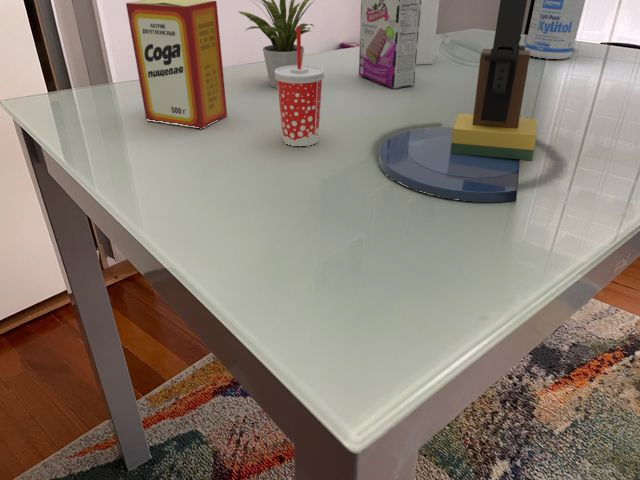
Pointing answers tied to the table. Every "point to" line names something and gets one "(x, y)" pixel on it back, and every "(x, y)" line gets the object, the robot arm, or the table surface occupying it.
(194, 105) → the baking soda box
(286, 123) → the beverage cup
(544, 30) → the supplement tub
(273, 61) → the house plant
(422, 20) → the milk
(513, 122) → the sponge
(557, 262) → the table surface
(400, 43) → the candy bar box
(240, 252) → the table surface
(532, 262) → the table surface
